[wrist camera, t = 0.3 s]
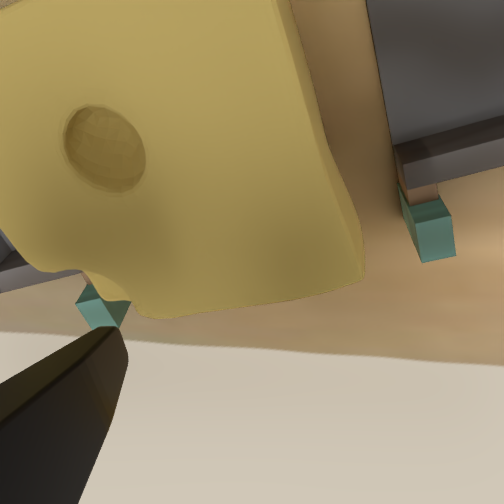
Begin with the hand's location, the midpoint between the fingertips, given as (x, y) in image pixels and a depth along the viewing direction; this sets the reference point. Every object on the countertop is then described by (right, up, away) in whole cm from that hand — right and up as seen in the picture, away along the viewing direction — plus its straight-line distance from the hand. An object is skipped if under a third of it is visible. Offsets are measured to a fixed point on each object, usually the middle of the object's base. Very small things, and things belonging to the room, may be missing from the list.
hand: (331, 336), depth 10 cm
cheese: (-4, +9, +11) cm, 15 cm away
